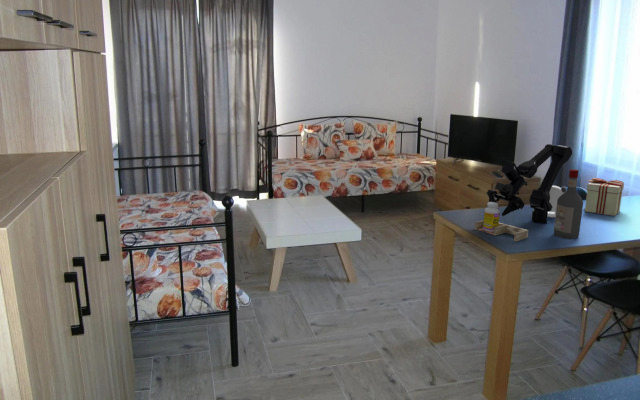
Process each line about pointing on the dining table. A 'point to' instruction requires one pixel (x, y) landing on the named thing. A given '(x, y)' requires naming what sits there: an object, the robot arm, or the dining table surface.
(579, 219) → the liquor
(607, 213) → the gift box
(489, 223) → the supplement bottle
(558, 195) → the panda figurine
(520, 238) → the rack
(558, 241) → the dining table surface
